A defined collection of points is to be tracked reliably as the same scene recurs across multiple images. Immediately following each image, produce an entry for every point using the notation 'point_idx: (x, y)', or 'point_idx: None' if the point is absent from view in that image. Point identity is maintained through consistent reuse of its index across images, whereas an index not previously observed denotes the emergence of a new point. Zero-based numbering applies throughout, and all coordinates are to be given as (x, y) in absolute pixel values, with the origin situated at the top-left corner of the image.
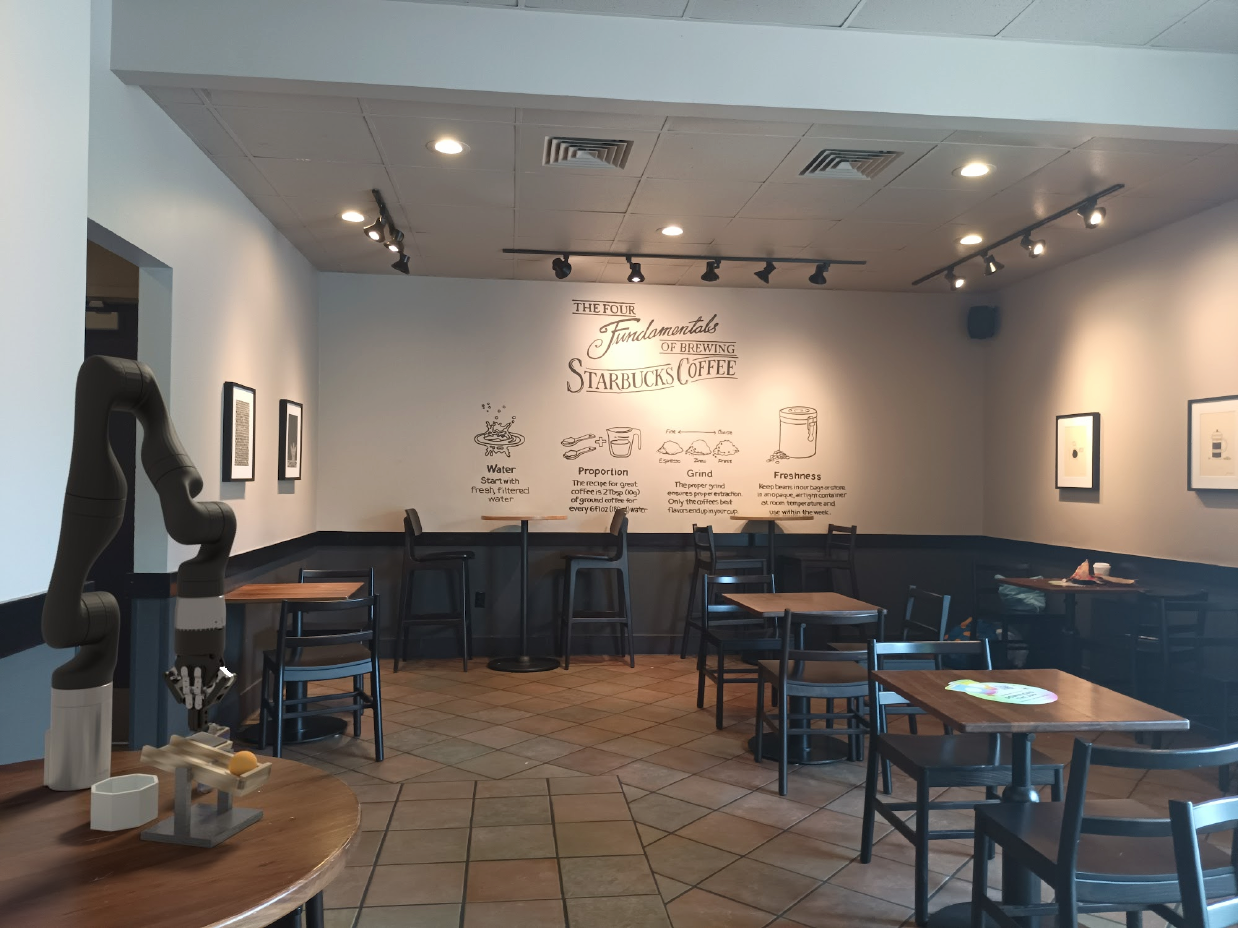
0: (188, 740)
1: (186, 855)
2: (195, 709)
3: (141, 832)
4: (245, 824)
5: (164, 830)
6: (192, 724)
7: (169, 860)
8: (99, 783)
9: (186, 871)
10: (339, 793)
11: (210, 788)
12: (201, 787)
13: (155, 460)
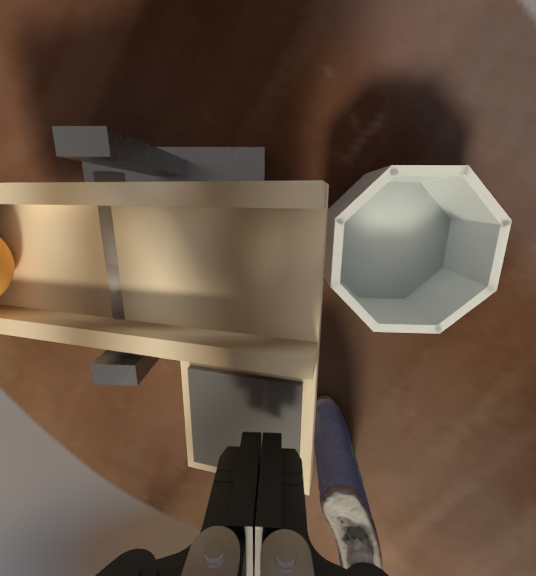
0: (232, 358)
1: (108, 100)
2: (243, 526)
3: (263, 147)
4: None
5: (217, 166)
6: (266, 452)
7: (121, 65)
8: (496, 239)
9: (43, 22)
10: (68, 443)
11: None
12: (322, 402)
13: None
